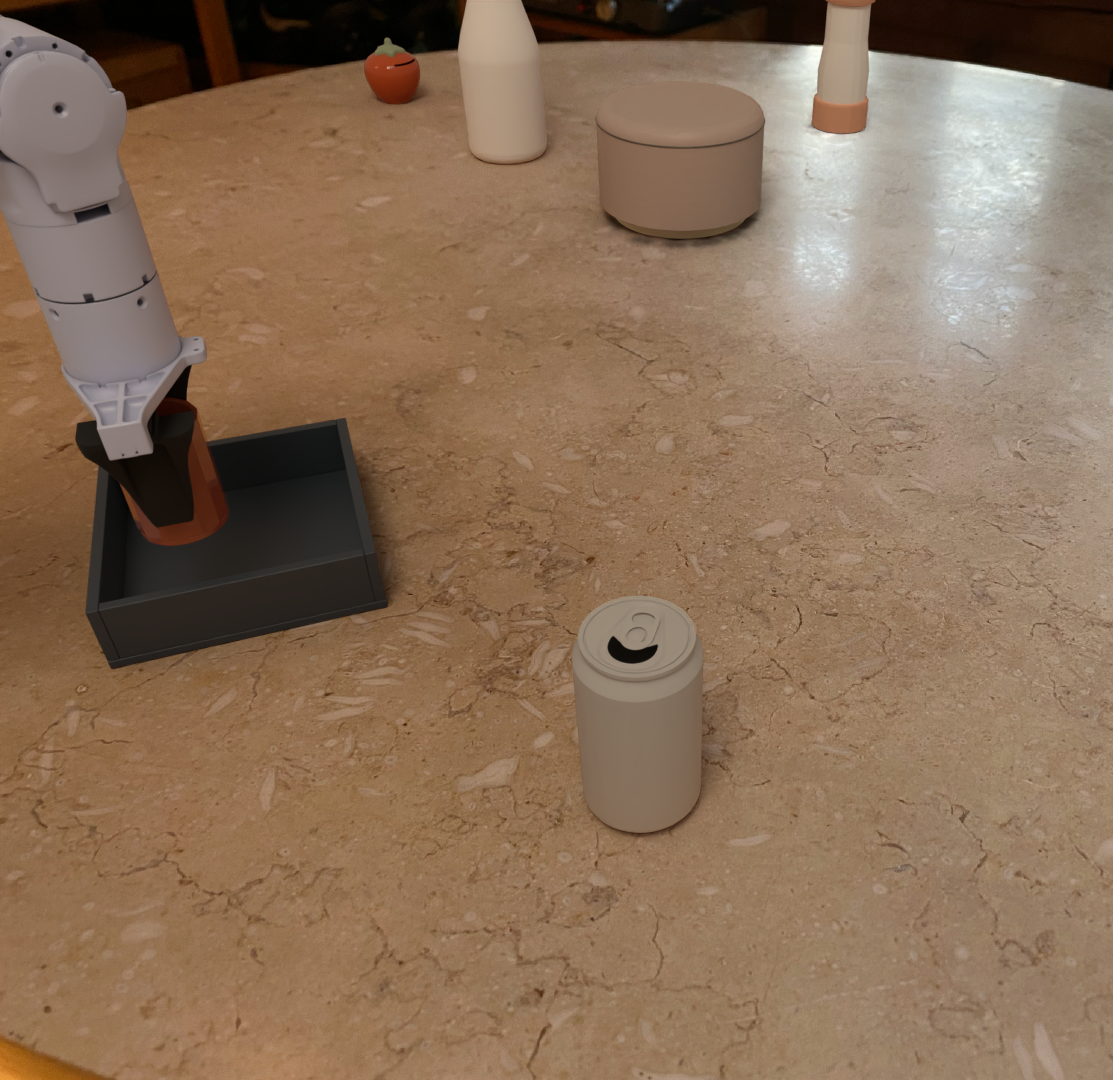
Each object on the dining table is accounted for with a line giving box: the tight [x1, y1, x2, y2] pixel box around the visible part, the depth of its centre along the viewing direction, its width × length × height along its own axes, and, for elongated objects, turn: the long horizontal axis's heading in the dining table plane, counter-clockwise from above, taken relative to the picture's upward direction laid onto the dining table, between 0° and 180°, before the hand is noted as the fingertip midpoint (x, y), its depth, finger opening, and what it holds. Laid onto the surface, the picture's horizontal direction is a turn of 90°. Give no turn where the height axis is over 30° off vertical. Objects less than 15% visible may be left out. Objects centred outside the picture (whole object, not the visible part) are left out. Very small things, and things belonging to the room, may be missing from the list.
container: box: [594, 80, 766, 240], centre depth 118 cm, size 18×18×12 cm
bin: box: [84, 417, 389, 669], centre depth 73 cm, size 16×16×5 cm
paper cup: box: [120, 397, 230, 546], centre depth 63 cm, size 5×5×7 cm
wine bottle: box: [457, 0, 548, 165], centre depth 126 cm, size 10×10×30 cm
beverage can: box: [571, 595, 705, 834], centre depth 56 cm, size 6×6×12 cm
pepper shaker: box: [811, 0, 876, 134], centre depth 140 cm, size 7×7×19 cm
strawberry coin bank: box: [363, 37, 421, 105], centre depth 148 cm, size 7×7×8 cm
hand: (174, 493), depth 64 cm, fingers closed on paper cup, 5 cm apart
